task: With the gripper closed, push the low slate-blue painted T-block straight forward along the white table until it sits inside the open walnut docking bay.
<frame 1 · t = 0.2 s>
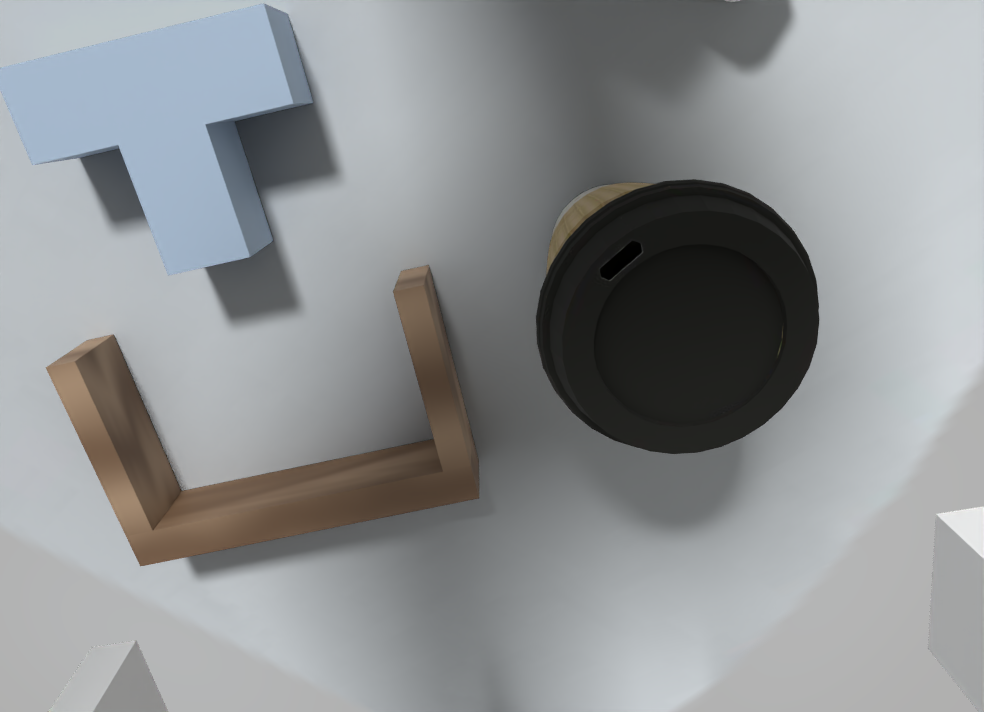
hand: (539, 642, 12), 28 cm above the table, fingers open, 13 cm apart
walnut dock: (296, 418, 41), on the table
coffee cup: (609, 243, 38), on the table
t block: (180, 87, 34), on the table
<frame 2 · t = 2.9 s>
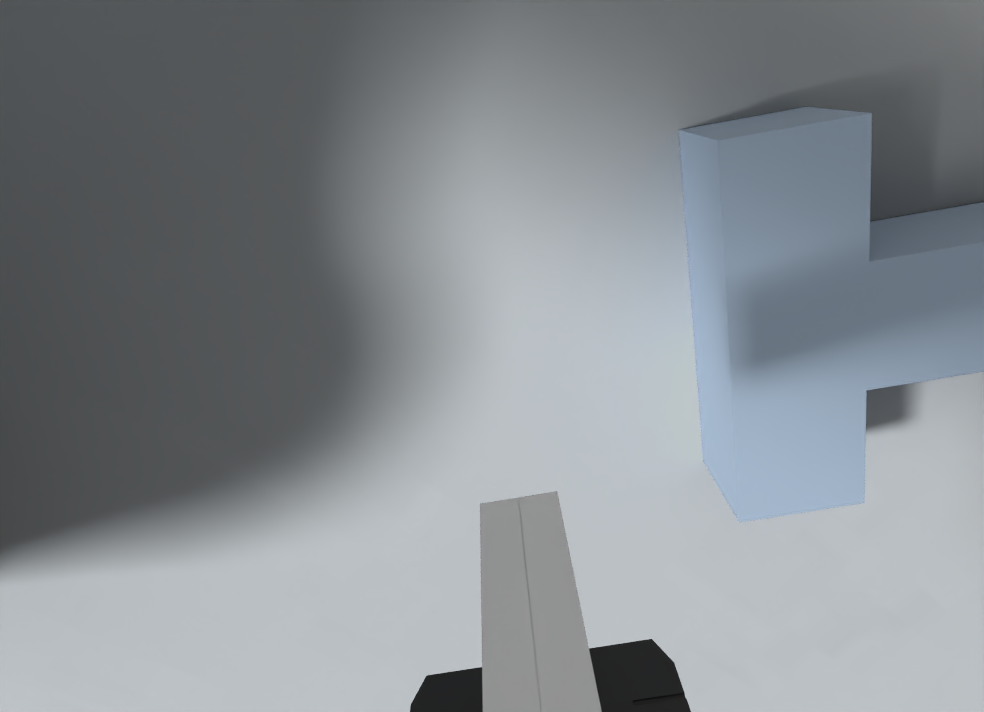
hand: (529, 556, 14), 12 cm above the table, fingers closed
t block: (749, 299, 25), on the table
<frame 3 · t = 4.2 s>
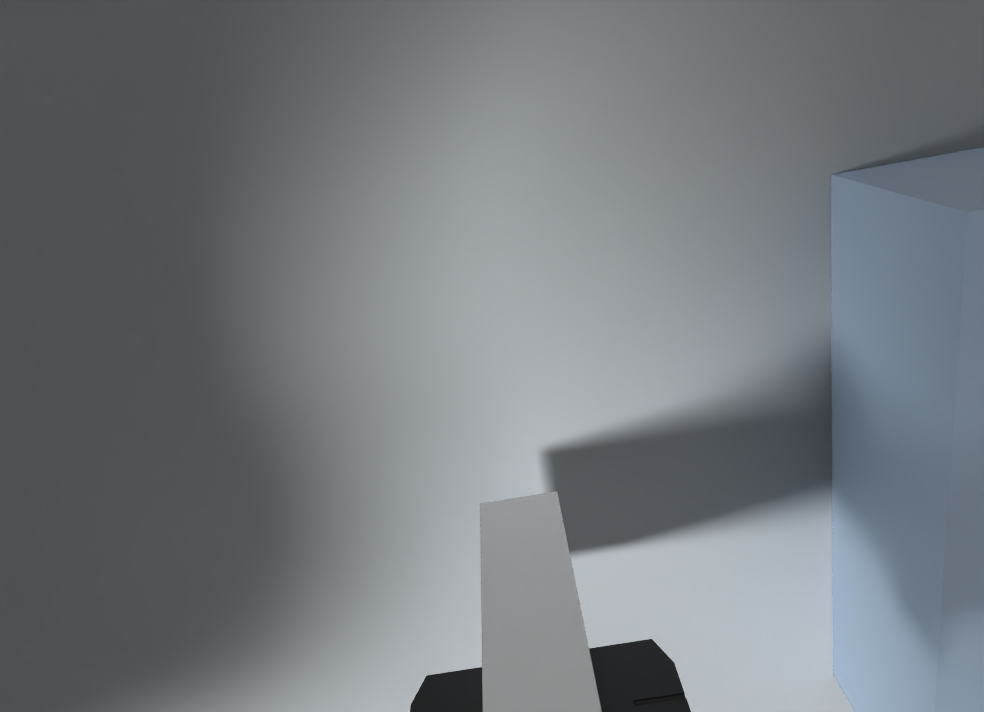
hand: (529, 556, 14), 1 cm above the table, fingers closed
t block: (926, 443, 15), on the table
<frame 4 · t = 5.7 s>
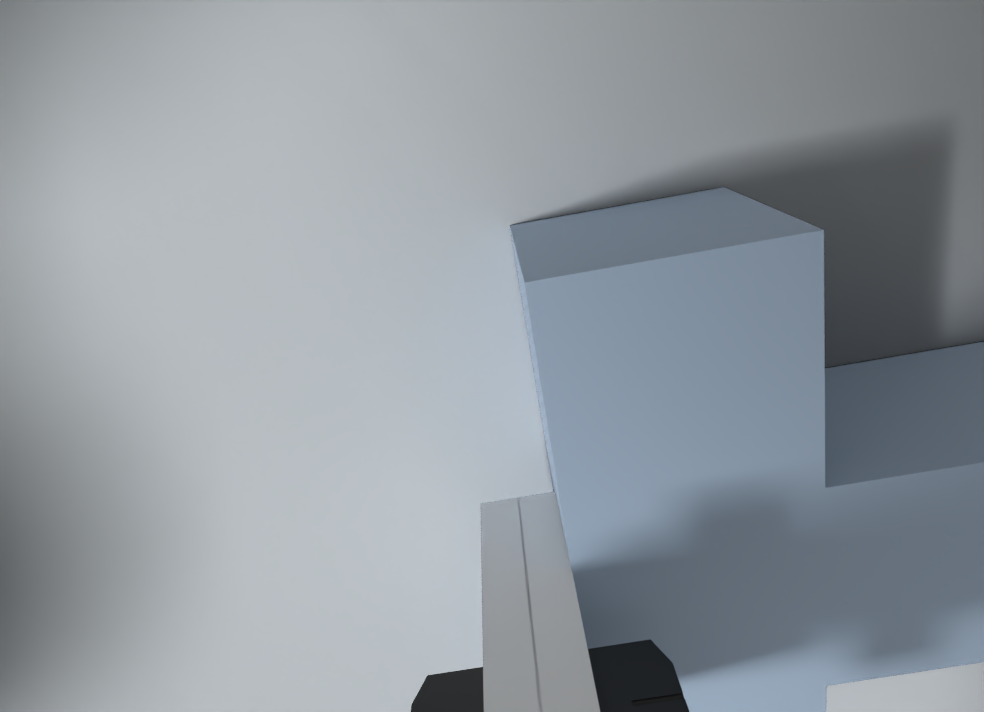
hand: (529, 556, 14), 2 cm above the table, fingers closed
t block: (646, 483, 15), on the table, touching gripper
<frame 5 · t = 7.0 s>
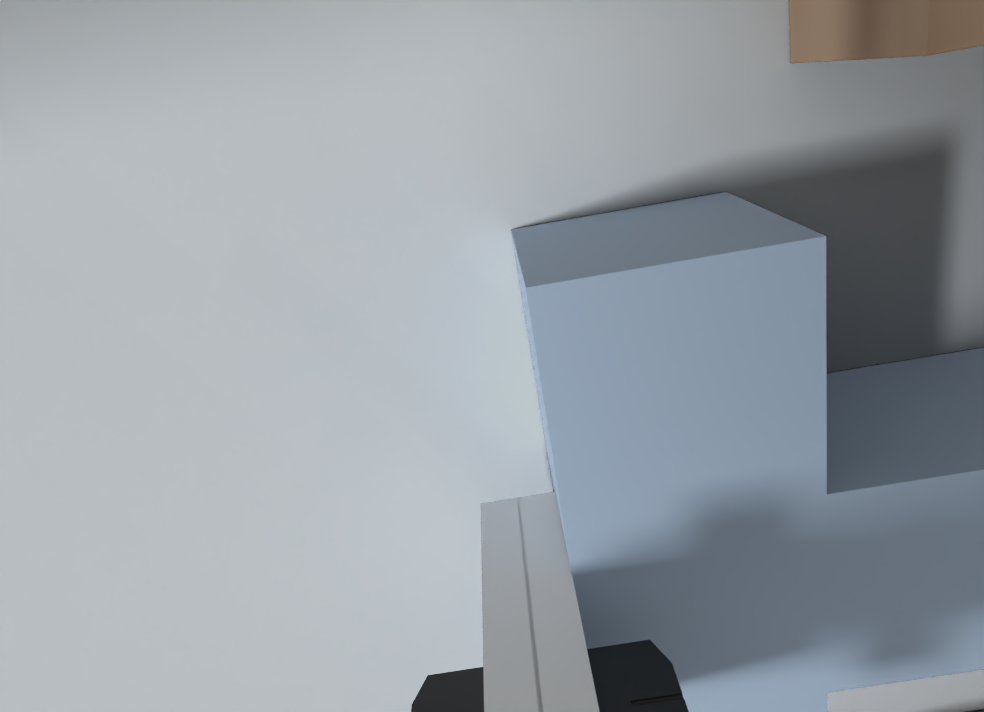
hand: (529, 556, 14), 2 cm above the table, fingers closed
t block: (647, 487, 15), on the table, touching gripper
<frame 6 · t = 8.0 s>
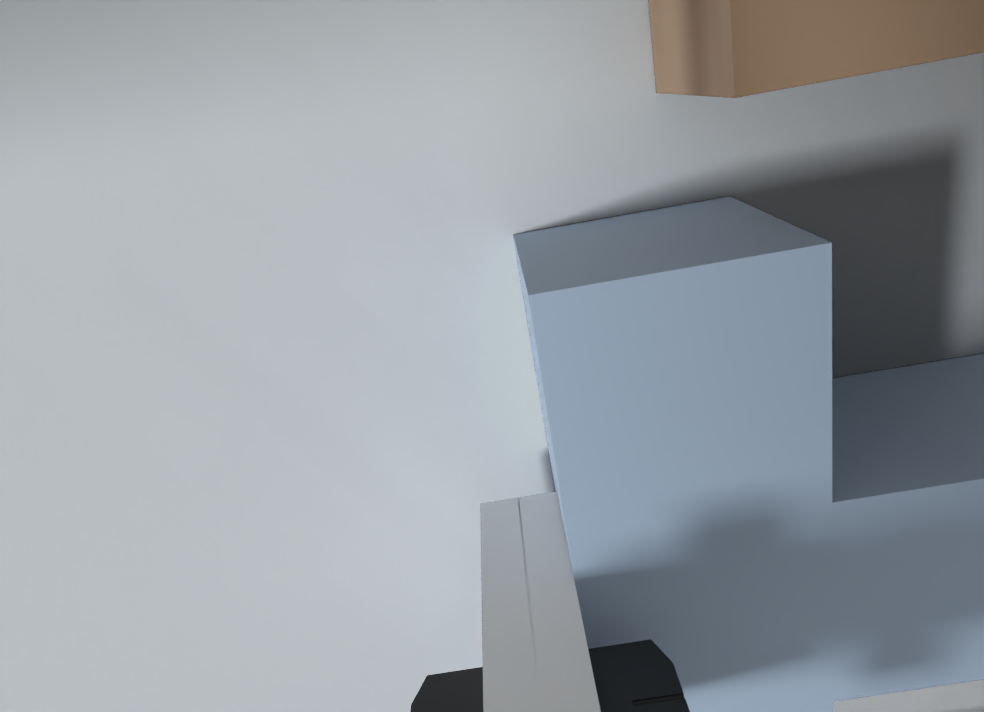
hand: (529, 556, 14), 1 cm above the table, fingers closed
t block: (650, 493, 15), on the table, touching gripper
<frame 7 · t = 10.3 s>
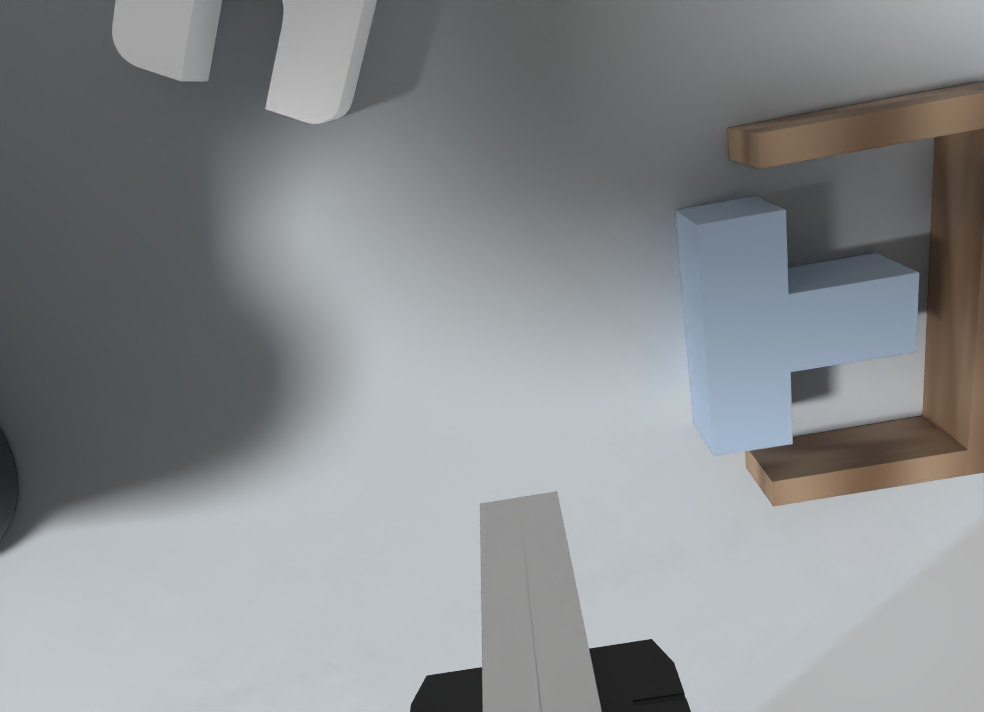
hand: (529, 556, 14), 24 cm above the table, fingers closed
walnut dock: (870, 290, 38), on the table
t block: (722, 315, 38), on the table
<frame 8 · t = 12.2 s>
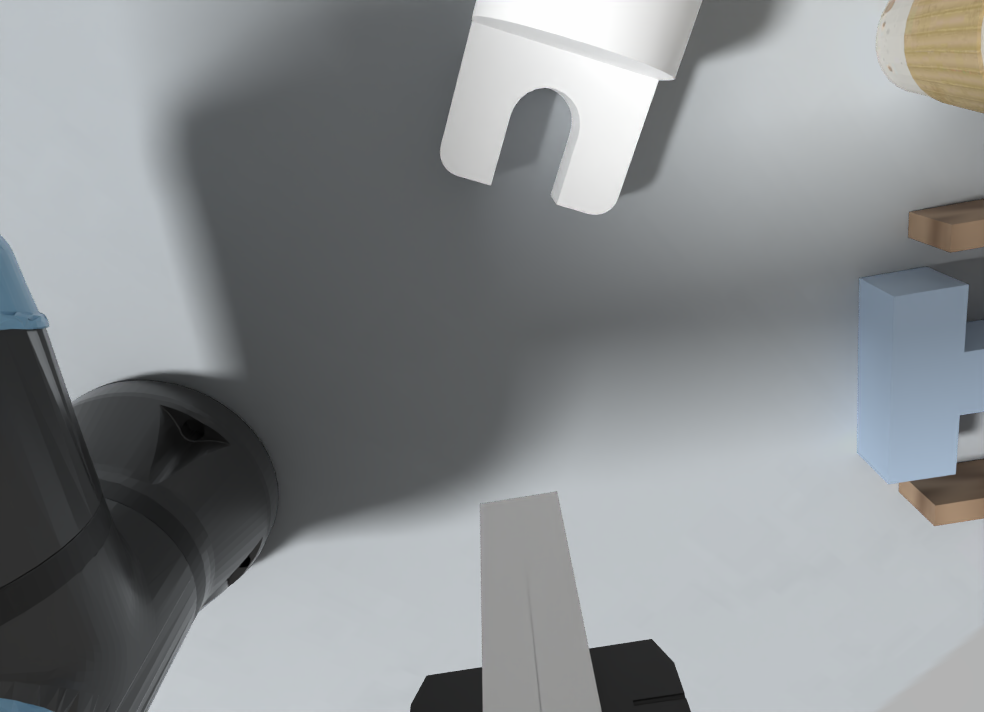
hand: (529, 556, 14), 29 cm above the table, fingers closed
white slotted block: (568, 18, 38), on the table
coffee cup: (932, 31, 38), on the table
t block: (889, 364, 45), on the table
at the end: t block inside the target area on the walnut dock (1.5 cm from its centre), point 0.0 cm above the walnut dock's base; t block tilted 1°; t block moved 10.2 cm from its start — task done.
